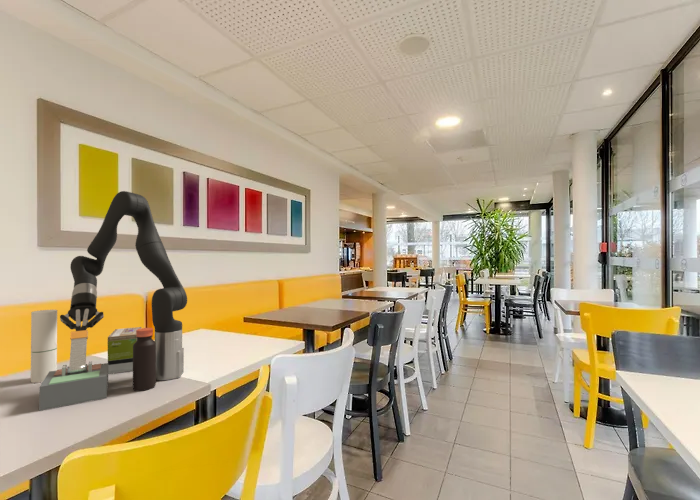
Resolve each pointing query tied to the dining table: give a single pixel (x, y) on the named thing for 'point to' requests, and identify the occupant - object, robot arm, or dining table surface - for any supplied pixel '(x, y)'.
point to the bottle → (144, 360)
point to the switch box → (73, 386)
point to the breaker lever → (78, 352)
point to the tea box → (121, 350)
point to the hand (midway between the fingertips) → (80, 337)
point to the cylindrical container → (43, 344)
